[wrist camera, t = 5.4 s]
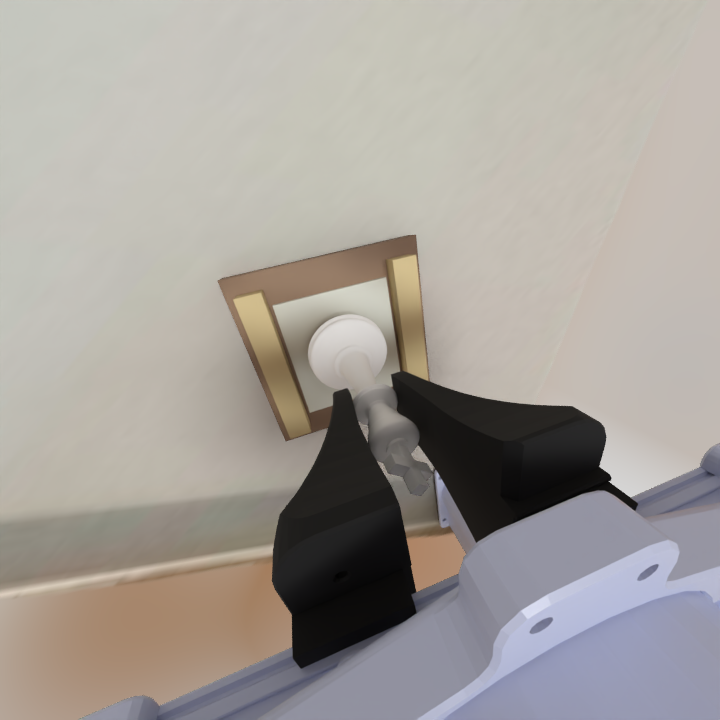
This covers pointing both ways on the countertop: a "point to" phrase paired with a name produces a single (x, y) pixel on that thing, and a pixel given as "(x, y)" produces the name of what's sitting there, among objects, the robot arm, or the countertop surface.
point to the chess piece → (368, 392)
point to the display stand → (315, 307)
